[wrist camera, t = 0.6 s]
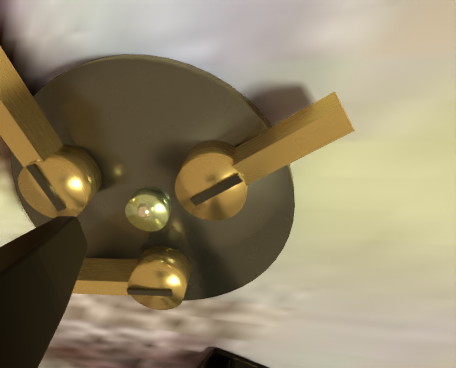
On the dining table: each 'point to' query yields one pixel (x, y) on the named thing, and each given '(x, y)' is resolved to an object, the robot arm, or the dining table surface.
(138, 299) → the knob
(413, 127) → the dining table surface
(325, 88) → the dining table surface
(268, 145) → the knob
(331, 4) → the dining table surface
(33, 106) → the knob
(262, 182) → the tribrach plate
